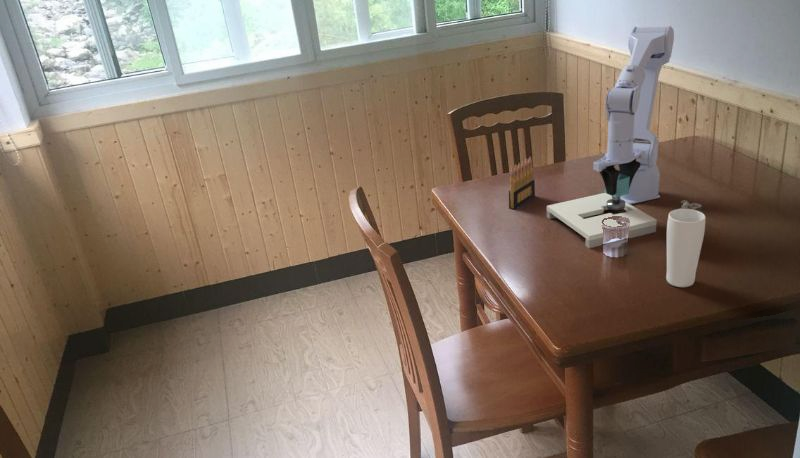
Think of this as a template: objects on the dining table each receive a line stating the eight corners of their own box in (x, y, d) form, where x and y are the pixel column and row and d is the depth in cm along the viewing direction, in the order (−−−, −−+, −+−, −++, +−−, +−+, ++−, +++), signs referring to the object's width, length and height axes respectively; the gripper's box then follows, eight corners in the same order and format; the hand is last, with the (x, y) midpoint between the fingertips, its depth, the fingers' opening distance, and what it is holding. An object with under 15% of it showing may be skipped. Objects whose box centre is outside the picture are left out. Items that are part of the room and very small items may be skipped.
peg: (616, 201, 156) (617, 172, 153) (629, 207, 152) (630, 176, 149) (602, 206, 155) (603, 176, 151) (615, 211, 151) (617, 181, 147)
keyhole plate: (607, 203, 164) (607, 192, 163) (655, 232, 147) (656, 219, 145) (546, 217, 161) (546, 205, 159) (588, 248, 143) (589, 236, 142)
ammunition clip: (514, 209, 167) (513, 168, 162) (508, 208, 168) (507, 167, 163) (535, 196, 174) (534, 155, 169) (529, 195, 175) (528, 154, 170)
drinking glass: (656, 276, 129) (661, 210, 123) (687, 271, 129) (694, 206, 123) (672, 292, 123) (678, 224, 117) (704, 287, 123) (713, 220, 117)
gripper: (630, 128, 152) (627, 180, 157) (584, 141, 146) (583, 194, 152) (653, 134, 146) (649, 188, 151) (606, 148, 141) (603, 203, 146)
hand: (617, 191), depth 151 cm, fingers closed on peg, 4 cm apart
